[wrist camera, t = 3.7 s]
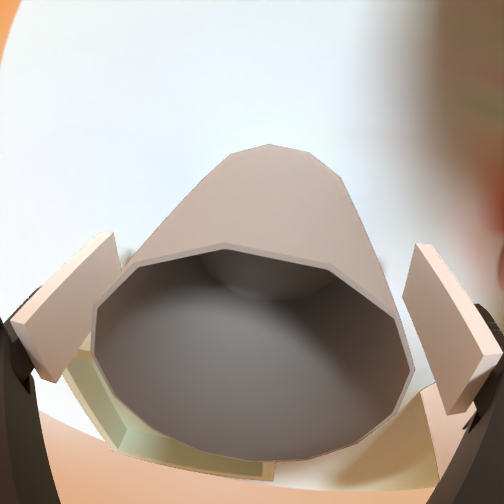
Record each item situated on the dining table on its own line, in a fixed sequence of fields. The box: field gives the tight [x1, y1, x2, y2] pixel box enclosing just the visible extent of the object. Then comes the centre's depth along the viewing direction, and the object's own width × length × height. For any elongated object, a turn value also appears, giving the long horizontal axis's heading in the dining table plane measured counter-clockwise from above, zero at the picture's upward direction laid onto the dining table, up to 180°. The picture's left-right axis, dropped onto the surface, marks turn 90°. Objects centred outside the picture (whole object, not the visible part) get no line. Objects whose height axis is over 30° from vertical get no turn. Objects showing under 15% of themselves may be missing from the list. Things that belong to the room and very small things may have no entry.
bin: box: [62, 332, 275, 481], centre depth 23 cm, size 16×16×4 cm
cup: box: [90, 144, 415, 462], centre depth 12 cm, size 8×8×10 cm
